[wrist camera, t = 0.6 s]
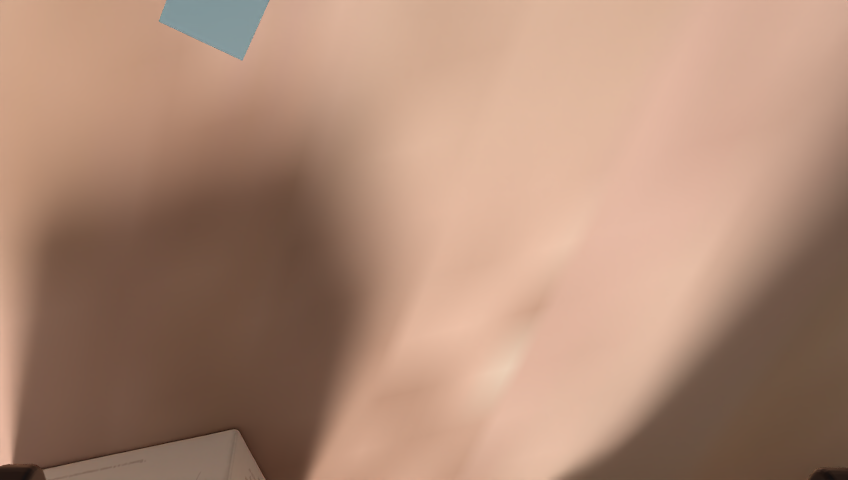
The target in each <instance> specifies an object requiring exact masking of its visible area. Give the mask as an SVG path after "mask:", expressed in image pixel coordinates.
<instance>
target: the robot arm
mask: <svg viewBox="0 0 848 480" xmlns="http://www.w3.org/2000/svg"><path fill="white" fill-rule="evenodd" d="M0 480H46V478H45V475H44V472H43V470H42V469H41V468H40V467H39V466H37V465H34V464H7V465H2V466H0ZM808 480H848V468H826V467H823V468H818V469H816V470H814V471H813V472H812V474H811V475H810V477H809V479H808Z"/></svg>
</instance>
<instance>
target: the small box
mask: <svg viewBox="0 0 848 480" xmlns="http://www.w3.org/2000/svg"><path fill="white" fill-rule="evenodd" d="M43 472H44V475H45V478H46V480H265V478H264V476H263V474H262V472H261V471H260V469H259V467H258V465H257V463H256V461H255V459H254V458H253V456H252V454H251V452H250V450H249V449H248V447H247V445H246V443H245V441H244V439H243V438H242V436H241V434H240V432H239V431H238V430H236V429H233V430H228V431H223V432H219V433H214V434H210V435H205V436H200V437H195V438H190V439H186V440H181V441H176V442H171V443H166V444H161V445H157V446H152V447H147V448H142V449H138V450H133V451H128V452H123V453H118V454H113V455H109V456H104V457H99V458H95V459H90V460H85V461H80V462H76V463H71V464H67V465H62V466H57V467H52V468H48V469H43Z"/></svg>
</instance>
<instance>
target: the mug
mask: <svg viewBox="0 0 848 480" xmlns="http://www.w3.org/2000/svg"><path fill="white" fill-rule="evenodd" d="M268 2H269V0H167V1H166V4H165V6H164V9H163V12H162V14H161V17H160V20H159V22H161V23H163V24H165V25H167V26H169V27H172V28H174V29H176V30H178V31H180V32H182V33H184V34H186V35H189V36H191V37H193V38H195V39H197V40H199V41H201V42H204V43H206V44H208V45H210V46H212V47H214V48H216V49H218V50H221V51H223V52H225V53H227V54H229V55H231V56H233V57H236V58H238V59H240V60H243V58H244V56H245V54H246V52H247V49H248V47H249V45H250V43H251V40H252V38H253V36H254V34H255V31H256V29H257V27H258V25H259V22H260V20H261V18H262V16H263V13H264V11H265V9H266V7H267V4H268Z"/></svg>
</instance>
